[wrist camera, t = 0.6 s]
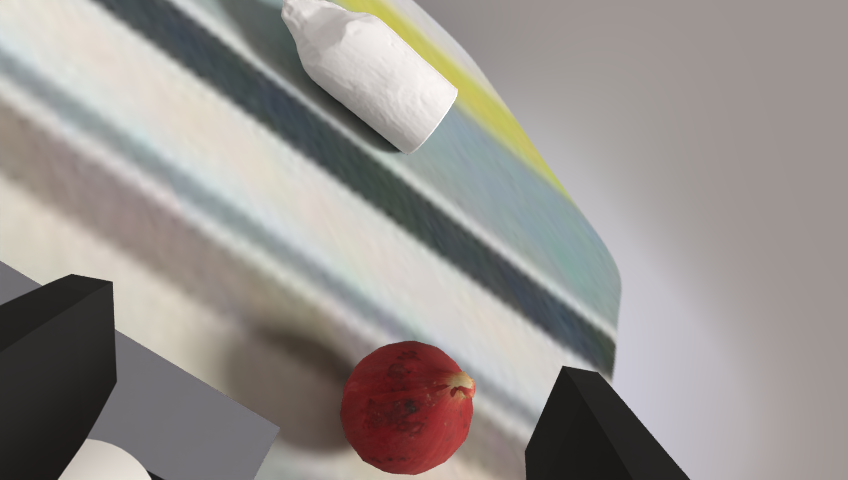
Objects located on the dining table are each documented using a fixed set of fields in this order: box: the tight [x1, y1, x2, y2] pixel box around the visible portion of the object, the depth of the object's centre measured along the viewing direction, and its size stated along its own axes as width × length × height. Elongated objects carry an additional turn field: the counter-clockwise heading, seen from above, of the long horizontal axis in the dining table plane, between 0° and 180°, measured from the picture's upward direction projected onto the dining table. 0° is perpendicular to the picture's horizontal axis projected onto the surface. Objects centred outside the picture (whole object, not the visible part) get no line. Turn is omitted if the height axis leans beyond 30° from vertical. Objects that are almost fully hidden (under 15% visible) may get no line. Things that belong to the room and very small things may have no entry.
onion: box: [340, 341, 475, 475], centre depth 25 cm, size 6×6×8 cm
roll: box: [281, 0, 458, 155], centre depth 36 cm, size 6×12×6 cm, turn 68°
